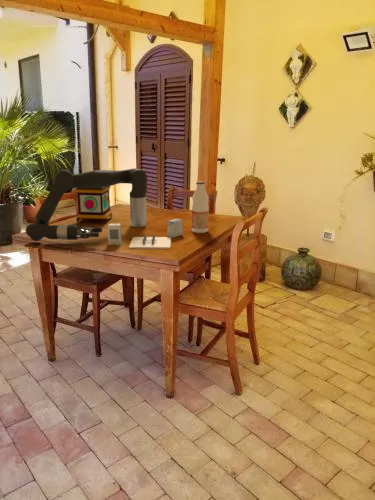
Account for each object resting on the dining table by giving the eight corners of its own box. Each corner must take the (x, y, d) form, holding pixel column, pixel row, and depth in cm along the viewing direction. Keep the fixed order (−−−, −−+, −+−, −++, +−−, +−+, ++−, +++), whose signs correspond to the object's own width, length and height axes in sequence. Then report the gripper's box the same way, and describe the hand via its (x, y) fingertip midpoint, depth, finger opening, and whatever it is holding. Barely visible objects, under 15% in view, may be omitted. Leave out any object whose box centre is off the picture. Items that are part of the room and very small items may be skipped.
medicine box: (176, 233, 227) (176, 218, 225) (182, 235, 225) (182, 219, 222) (167, 236, 221) (167, 220, 219) (173, 237, 219) (173, 222, 216)
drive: (109, 242, 209) (109, 223, 206) (121, 242, 209) (120, 223, 206) (108, 244, 205) (107, 225, 202) (120, 245, 205) (119, 225, 202)
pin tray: (133, 238, 217) (133, 232, 216) (171, 238, 217) (171, 232, 216) (129, 248, 200) (128, 241, 199) (170, 248, 200) (170, 242, 199)
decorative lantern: (85, 216, 265) (82, 169, 256) (115, 217, 263) (113, 170, 254) (74, 224, 246) (70, 173, 237) (106, 225, 244) (103, 174, 235)
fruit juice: (200, 234, 226) (201, 183, 218) (188, 231, 232) (188, 181, 224) (211, 231, 233) (212, 181, 225) (199, 228, 239) (199, 180, 231)
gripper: (63, 228, 197) (97, 228, 197) (70, 221, 211) (102, 221, 211) (64, 243, 199) (98, 243, 200) (72, 235, 213) (103, 235, 213)
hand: (100, 232), depth 205 cm, fingers open, 8 cm apart
